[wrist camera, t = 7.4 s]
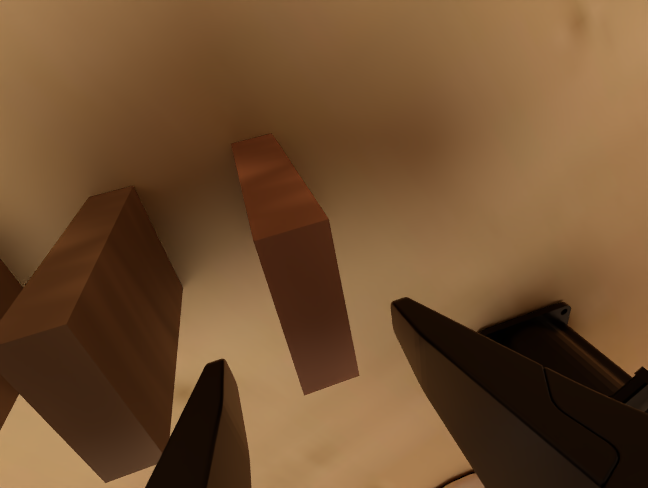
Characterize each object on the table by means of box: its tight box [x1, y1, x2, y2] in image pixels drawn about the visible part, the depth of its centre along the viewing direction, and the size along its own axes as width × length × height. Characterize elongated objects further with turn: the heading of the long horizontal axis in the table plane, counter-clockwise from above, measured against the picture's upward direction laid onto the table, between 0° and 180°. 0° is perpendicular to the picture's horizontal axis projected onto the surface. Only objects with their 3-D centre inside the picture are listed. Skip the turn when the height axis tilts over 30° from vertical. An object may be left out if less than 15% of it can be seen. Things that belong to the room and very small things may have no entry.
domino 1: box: [0, 186, 183, 483], centre depth 12 cm, size 2×5×8 cm, turn 10°
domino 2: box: [231, 133, 359, 395], centre depth 12 cm, size 2×5×8 cm, turn 11°
